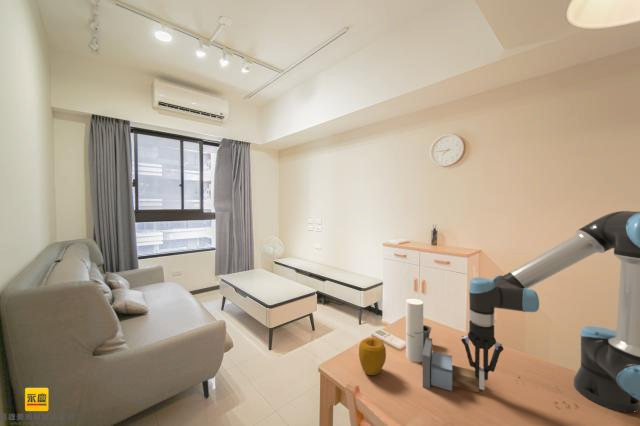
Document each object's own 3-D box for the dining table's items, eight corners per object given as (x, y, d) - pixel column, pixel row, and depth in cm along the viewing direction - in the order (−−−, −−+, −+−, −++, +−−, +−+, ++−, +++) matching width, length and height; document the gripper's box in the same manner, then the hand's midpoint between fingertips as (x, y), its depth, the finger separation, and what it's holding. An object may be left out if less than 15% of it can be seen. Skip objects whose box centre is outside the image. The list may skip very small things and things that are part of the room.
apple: (384, 383, 95) (384, 350, 95) (356, 377, 98) (356, 345, 98) (387, 366, 105) (386, 335, 105) (361, 361, 109) (361, 332, 108)
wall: (432, 367, 104) (432, 338, 104) (429, 388, 92) (429, 356, 92) (425, 365, 105) (425, 337, 105) (422, 386, 93) (422, 354, 93)
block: (452, 374, 99) (452, 355, 99) (452, 391, 90) (452, 370, 90) (432, 369, 102) (432, 351, 102) (431, 384, 93) (431, 365, 93)
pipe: (404, 343, 122) (404, 327, 122) (426, 339, 126) (426, 323, 126) (412, 350, 117) (412, 333, 116) (434, 346, 120) (434, 329, 120)
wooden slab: (477, 384, 94) (477, 371, 94) (479, 393, 90) (479, 379, 90) (436, 373, 101) (436, 361, 101) (436, 381, 96) (436, 368, 96)
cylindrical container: (424, 363, 107) (424, 305, 107) (407, 361, 108) (407, 303, 108) (421, 353, 114) (421, 299, 114) (405, 351, 115) (404, 298, 115)
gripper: (501, 321, 90) (501, 386, 91) (460, 314, 96) (460, 375, 97) (505, 330, 84) (505, 400, 84) (461, 322, 90) (461, 387, 90)
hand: (481, 387), depth 90 cm, fingers closed
